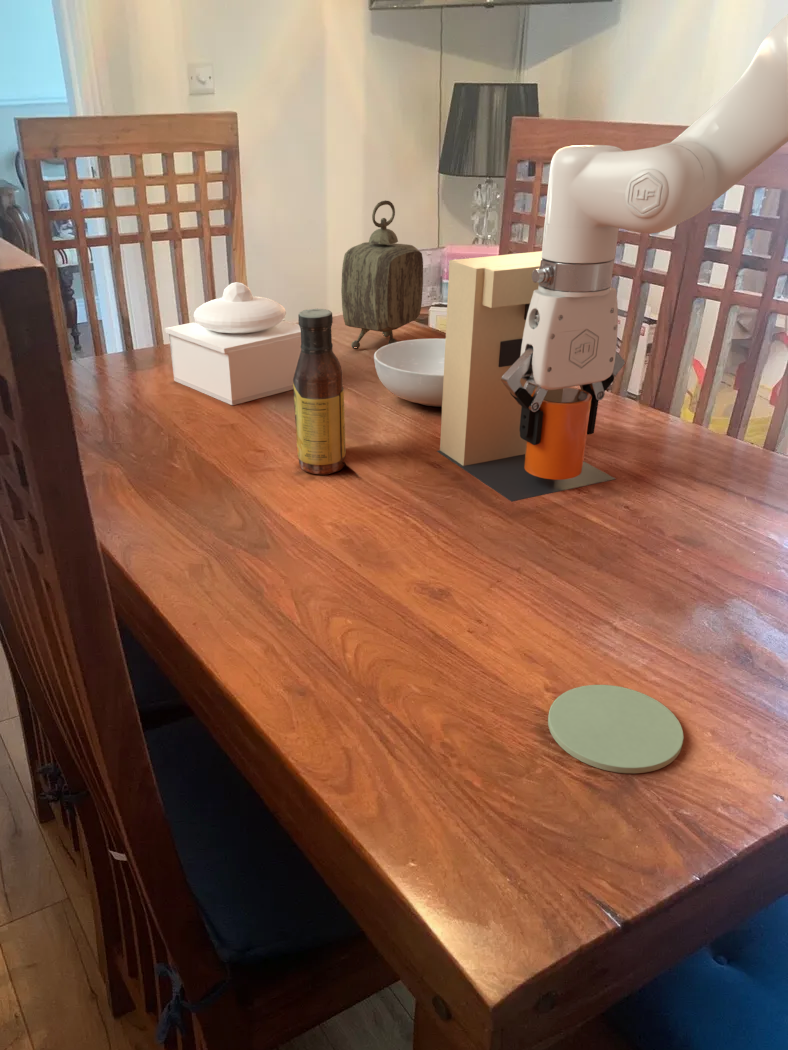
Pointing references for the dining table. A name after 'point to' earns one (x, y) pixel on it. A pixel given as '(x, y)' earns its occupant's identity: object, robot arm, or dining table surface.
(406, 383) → the serving bowl
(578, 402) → the orange cup
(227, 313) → the white lidded box
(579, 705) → the coaster
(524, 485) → the coffee maker
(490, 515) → the dining table surface
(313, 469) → the sauce bottle
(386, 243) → the tabletop clock
